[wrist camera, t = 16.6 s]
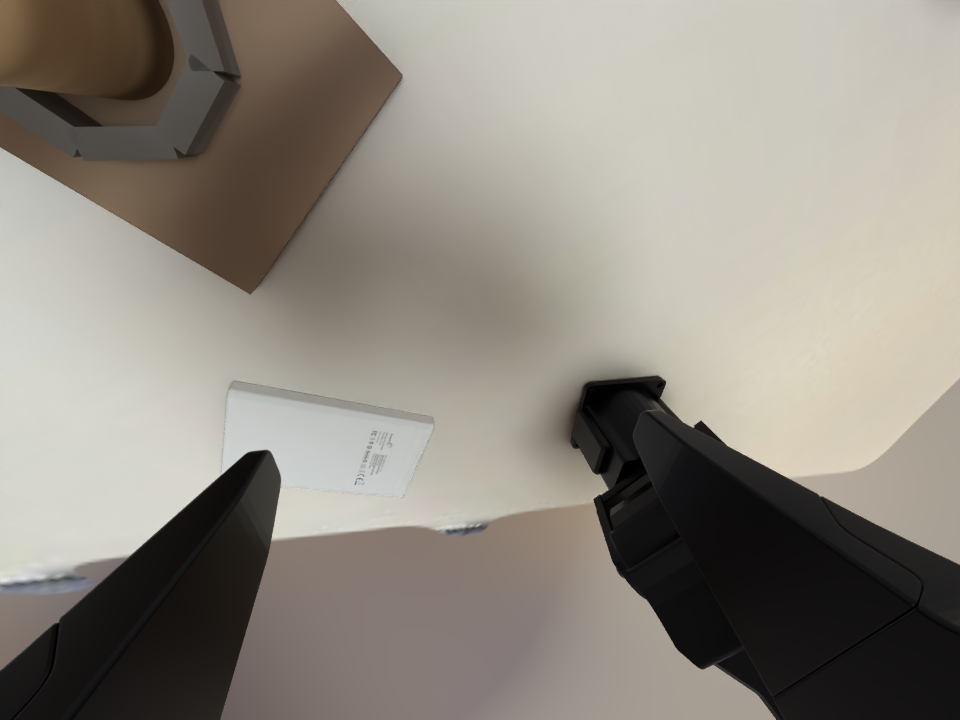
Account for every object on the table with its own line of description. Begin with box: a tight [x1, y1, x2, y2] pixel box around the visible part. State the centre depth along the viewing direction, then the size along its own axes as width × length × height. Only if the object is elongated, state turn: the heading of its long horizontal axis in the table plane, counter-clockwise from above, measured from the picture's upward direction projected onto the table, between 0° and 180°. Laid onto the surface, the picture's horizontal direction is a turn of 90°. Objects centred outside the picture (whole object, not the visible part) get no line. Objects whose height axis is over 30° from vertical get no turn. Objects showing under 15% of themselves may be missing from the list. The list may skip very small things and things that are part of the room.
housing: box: [0, 0, 402, 294], centre depth 11 cm, size 16×12×2 cm
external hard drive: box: [221, 381, 434, 498], centre depth 25 cm, size 2×8×12 cm
